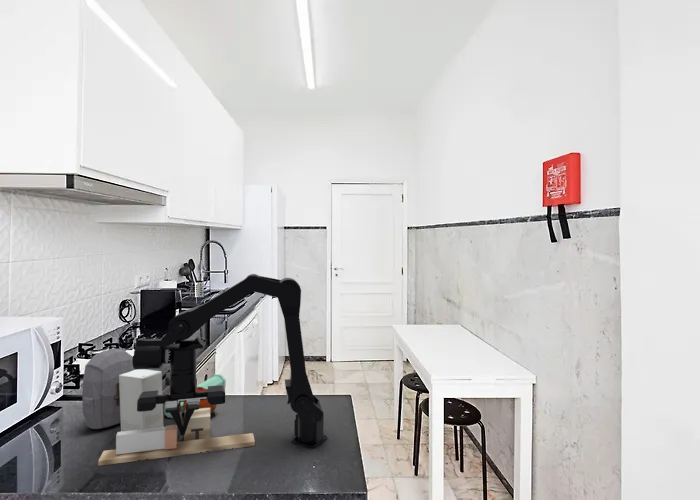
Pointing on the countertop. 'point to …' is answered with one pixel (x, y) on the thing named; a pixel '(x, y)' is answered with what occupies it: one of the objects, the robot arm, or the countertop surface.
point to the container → (213, 381)
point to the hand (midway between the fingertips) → (182, 434)
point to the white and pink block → (146, 439)
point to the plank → (180, 449)
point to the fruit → (202, 401)
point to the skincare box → (129, 394)
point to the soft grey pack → (104, 387)
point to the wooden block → (198, 425)
